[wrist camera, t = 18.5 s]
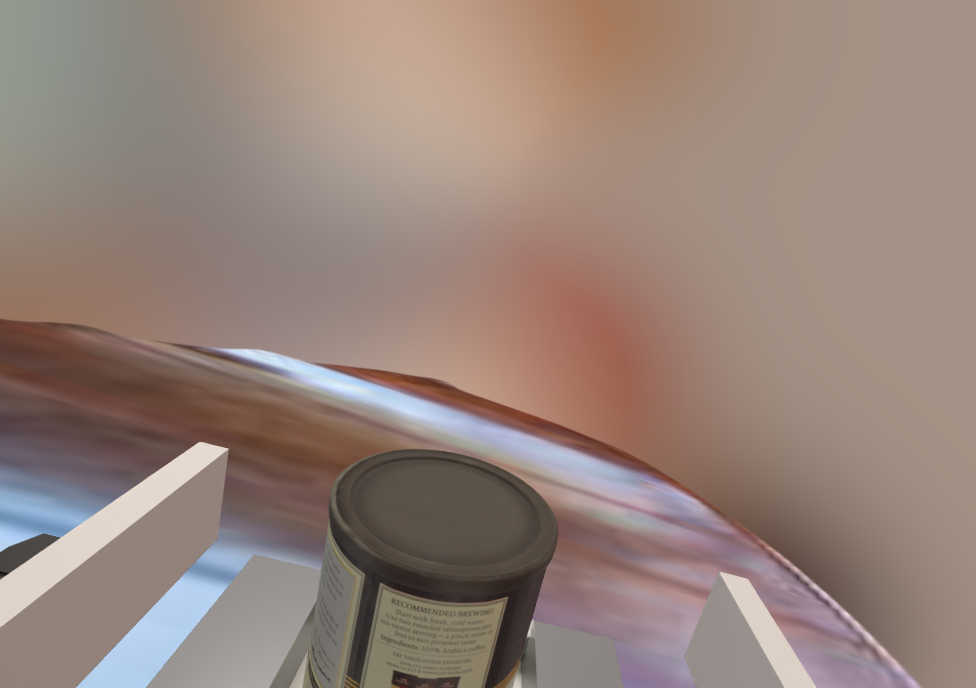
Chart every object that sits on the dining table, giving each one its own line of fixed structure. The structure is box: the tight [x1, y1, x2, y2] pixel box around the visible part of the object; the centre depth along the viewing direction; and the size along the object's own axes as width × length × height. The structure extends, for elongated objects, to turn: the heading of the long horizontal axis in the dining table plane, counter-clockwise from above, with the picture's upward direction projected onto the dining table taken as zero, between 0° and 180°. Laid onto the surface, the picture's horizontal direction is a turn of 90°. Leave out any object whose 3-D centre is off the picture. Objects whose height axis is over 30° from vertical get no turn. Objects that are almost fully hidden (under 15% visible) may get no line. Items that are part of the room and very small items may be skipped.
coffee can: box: [302, 449, 558, 688], centre depth 25 cm, size 10×10×14 cm
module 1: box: [146, 555, 321, 688], centre depth 27 cm, size 11×5×4 cm, turn 177°
